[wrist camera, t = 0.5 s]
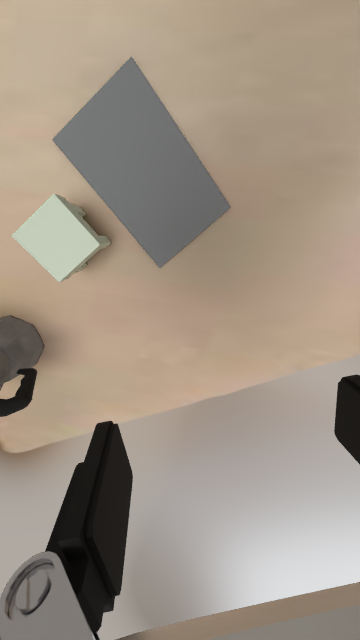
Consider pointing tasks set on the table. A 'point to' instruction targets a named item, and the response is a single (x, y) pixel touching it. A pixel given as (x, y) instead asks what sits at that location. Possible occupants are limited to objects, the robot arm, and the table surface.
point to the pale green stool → (60, 238)
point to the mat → (142, 165)
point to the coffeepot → (18, 361)
